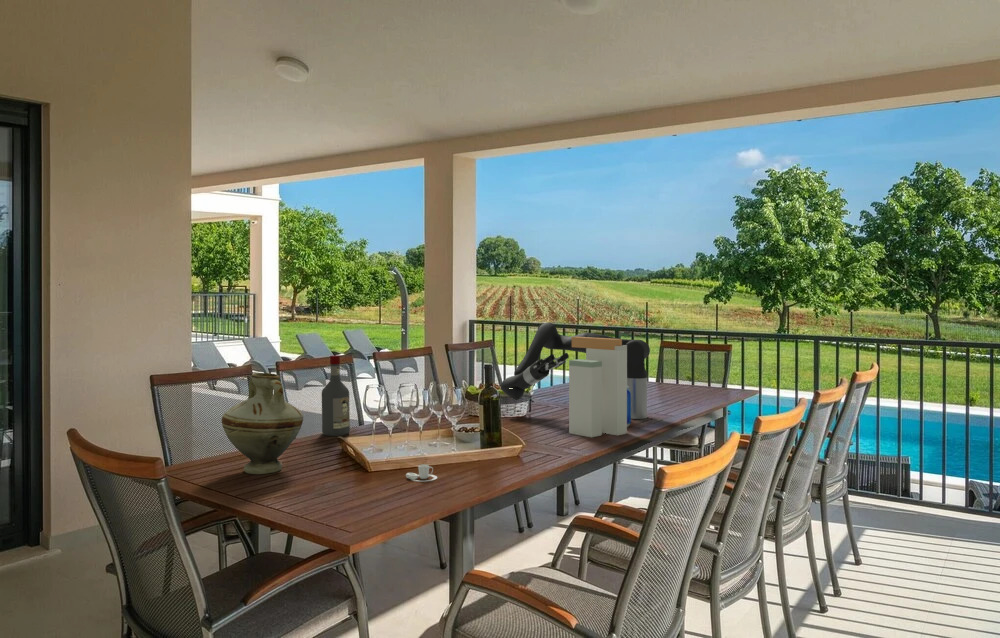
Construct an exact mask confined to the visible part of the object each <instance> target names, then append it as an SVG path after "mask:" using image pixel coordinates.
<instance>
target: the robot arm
mask: <svg viewBox="0 0 1000 638" xmlns="http://www.w3.org/2000/svg"><path fill="white" fill-rule="evenodd" d="M572 337H592V338H610V339H619V338H617V337H613V336H609V335H605V334H599V333H593V332H582V333H578V334H575V335H572V336H569V335H562V334H559V332H558V328H557V327H556V325H555V324H553V322H544V323H542V324H541V325H540V326H539V327H538V328H537V330H536V332H535V334H534V336H533V339H532V341H531V343H530V345H529V347H528V350H527V351H526V353H525V356H523V358H522V360H521V361H520V363H519V364H518V366H517V367H516V369H515V370H514V374H513V375H511V376H509V377H507V378H505V379H504V380H503V381H501V383H500V390H501V392H503V393H504V394H505V395H506V396H508V397H509V398H510V397H511V398H513V399H515V400H516V401H518V400H520V399H522V398H523V396H524V394H525V391H526V390H527V389H529V388H531V387H533V386H534V385H535V384H537V383H539V382H540V381H542V380H544V379H545V378H547V377H548V375H550V371H552V370H553V369H554V368H555V369H557V368H560V367H561V366H562V365H564V364H566V362H567V360H568V359H569V358H570V355H569V353H568V352H565V353H564V354H562V355H561V356H559V357H555V355H554V354H553V353H552V354H550V355H549V356H547V357H544V358H540V356H541V353H542V350H544V349H543V348H545V349H547V350H557V351H560V350H561V351H572V352H579V353H583V354H586V348H577V347H572ZM621 339H622V345H627V386H629V387H628V388H629V389H630V391H631V420H632V419H634V420H644V419H647V418H648V371H647V369H646V367H645V365H646V364H645V360H646V359H647V358H648V357H649V355H650V353H651V349H650V346H649V345H648V343H647V342H645V341H644V340H642V339H627V338H626V339H625V338H621ZM509 388H513V389H509ZM511 398H510V399H511ZM513 399H512V400H513ZM515 400H514V401H515Z"/></svg>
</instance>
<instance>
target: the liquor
mask: <svg viewBox="0 0 1000 638" xmlns="http://www.w3.org/2000/svg"><path fill="white" fill-rule="evenodd" d="M340 357H341V356H340V355H330V356H329V363H330V378H329V382H327V384H326V385H325V386H324V387H323V388H322V390H321V432H322V435H324V436H326V437H327V436H330V437H342V436H344V435H348V434H349V433H350V432H351V429H350V428H351V427H350V425H351V420H350V419H351V417H350V410H351V409H350V391H349V388H348V387H347V386H346V385H345V384H344V383H343V382H342V379H341V373H340V372H341V370H340V369H341V368H340V364H341V362H340V361H341V359H340Z"/></svg>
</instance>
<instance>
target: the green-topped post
mask: <svg viewBox="0 0 1000 638" xmlns="http://www.w3.org/2000/svg"><path fill="white" fill-rule="evenodd" d="M568 407H569V408H568V414H569V415H568V420H569V421H568V425H569V426H568V427H569V428H568V429H569V430H568V433H569V434H571V435H575V436H576V435H577V436H580V437H581V436H583V437H587V438H595V437H596V438H597V437H600V436H602V435H603V433H602V361H594V360H586V359H583V358H582V359H580V358H579V359H577V358H576V359H570V360H568Z"/></svg>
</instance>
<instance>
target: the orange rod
mask: <svg viewBox="0 0 1000 638" xmlns="http://www.w3.org/2000/svg"><path fill="white" fill-rule="evenodd" d="M622 339H623V338H618V339H610V338H592V337H572V347H577V348H592V349H606V350H615V346H622Z"/></svg>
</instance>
